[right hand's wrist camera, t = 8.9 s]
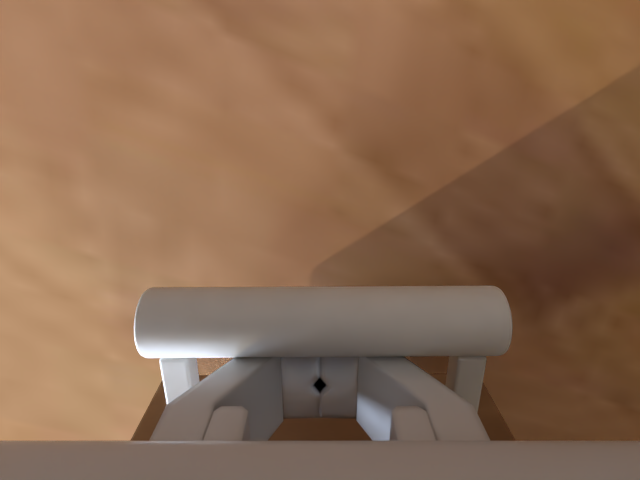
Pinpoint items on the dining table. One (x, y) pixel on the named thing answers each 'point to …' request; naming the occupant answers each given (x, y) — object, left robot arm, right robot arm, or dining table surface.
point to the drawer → (324, 338)
